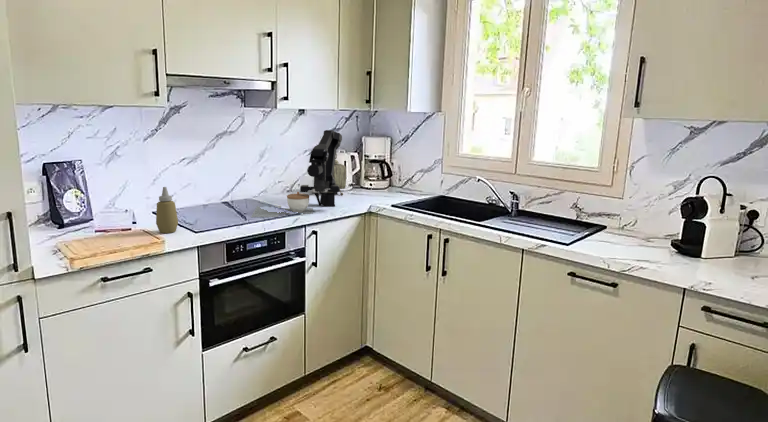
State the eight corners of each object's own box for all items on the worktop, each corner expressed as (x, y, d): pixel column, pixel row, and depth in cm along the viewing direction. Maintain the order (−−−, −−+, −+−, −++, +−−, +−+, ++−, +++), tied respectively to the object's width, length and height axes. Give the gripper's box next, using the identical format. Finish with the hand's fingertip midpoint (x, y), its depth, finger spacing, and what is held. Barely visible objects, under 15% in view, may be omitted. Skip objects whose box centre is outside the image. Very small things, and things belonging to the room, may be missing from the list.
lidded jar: (313, 211, 241) (313, 192, 239) (293, 214, 234) (293, 194, 232) (302, 207, 249) (302, 189, 247) (283, 210, 242) (282, 191, 240)
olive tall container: (346, 195, 287) (346, 152, 282) (331, 196, 282) (331, 153, 277) (335, 192, 299) (335, 150, 294) (321, 193, 295) (321, 150, 290)
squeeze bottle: (174, 228, 202) (171, 184, 199) (182, 232, 197) (179, 187, 193) (153, 231, 197) (150, 186, 193) (161, 235, 191) (157, 189, 187)
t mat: (312, 206, 255) (312, 205, 255) (312, 217, 230) (312, 216, 230) (257, 207, 251) (257, 206, 251) (250, 218, 226) (250, 216, 226)
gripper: (299, 176, 230) (300, 209, 233) (339, 176, 233) (339, 209, 236) (300, 173, 241) (300, 204, 244) (338, 173, 244) (338, 204, 247)
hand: (319, 205), depth 242 cm, fingers closed
